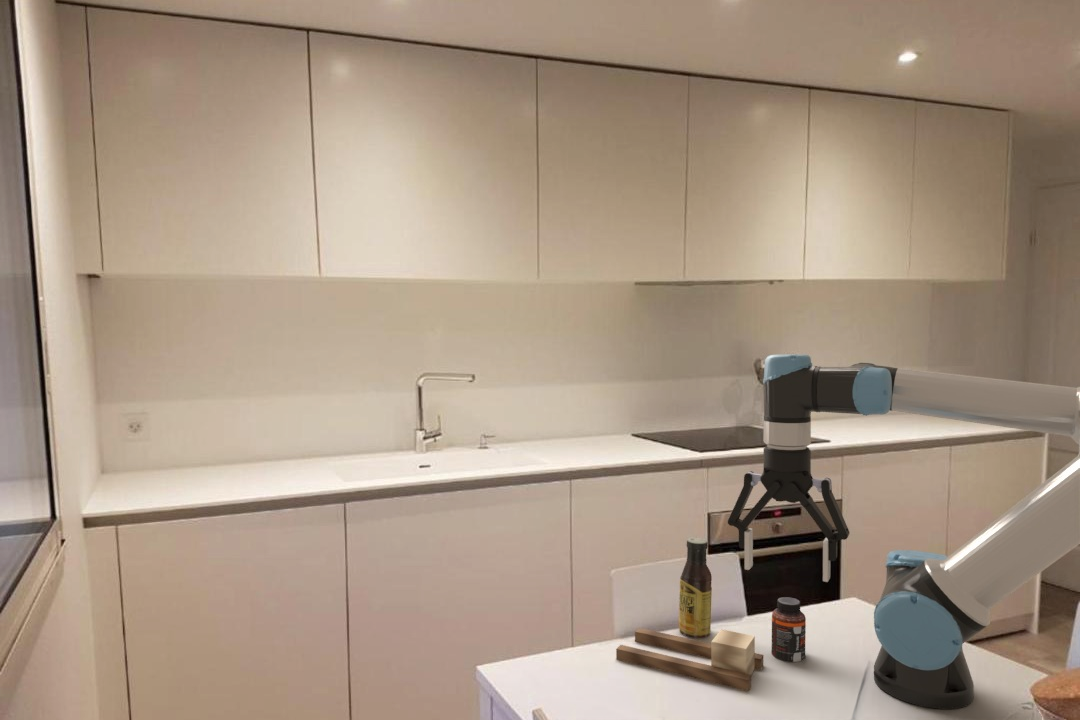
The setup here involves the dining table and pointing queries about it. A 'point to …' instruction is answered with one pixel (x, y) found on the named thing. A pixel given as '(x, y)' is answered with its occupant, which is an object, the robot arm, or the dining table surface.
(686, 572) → the sauce bottle
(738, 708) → the dining table surface
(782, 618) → the supplement bottle
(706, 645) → the walnut chute
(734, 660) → the block
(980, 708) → the dining table surface
